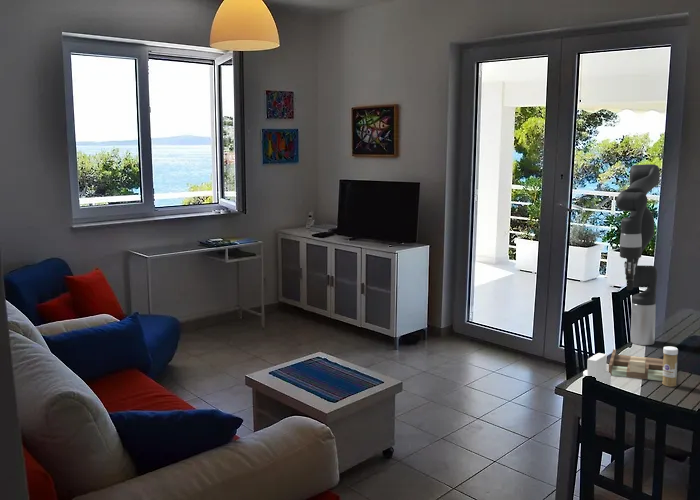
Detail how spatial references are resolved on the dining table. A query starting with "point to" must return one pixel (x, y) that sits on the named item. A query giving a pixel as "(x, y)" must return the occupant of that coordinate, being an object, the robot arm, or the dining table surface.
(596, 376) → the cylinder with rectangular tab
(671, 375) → the sprinkles bottle
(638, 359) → the beech block
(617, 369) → the trap deck
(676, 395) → the dining table surface
